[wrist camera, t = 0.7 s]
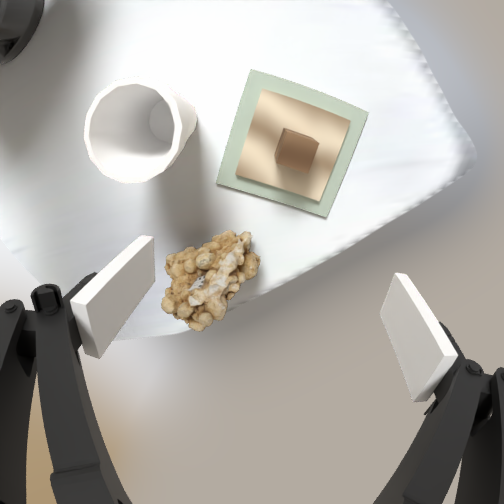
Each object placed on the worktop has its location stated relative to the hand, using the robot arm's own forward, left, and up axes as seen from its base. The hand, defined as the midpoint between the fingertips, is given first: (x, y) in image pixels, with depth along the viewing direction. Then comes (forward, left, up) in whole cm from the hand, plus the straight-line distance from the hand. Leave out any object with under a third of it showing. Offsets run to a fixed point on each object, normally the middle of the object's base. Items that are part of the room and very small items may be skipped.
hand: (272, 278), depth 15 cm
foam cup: (-3, -13, -24) cm, 27 cm away
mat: (-4, +2, -23) cm, 24 cm away
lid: (-4, +2, -23) cm, 23 cm away
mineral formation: (+12, -3, -24) cm, 27 cm away
